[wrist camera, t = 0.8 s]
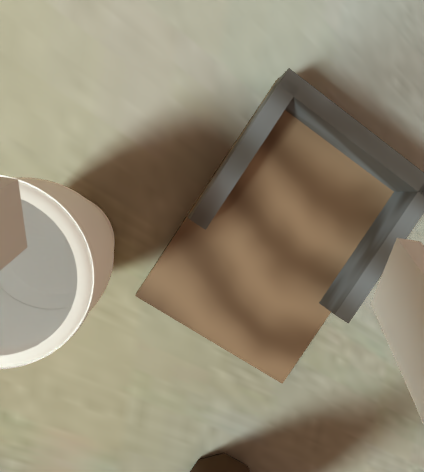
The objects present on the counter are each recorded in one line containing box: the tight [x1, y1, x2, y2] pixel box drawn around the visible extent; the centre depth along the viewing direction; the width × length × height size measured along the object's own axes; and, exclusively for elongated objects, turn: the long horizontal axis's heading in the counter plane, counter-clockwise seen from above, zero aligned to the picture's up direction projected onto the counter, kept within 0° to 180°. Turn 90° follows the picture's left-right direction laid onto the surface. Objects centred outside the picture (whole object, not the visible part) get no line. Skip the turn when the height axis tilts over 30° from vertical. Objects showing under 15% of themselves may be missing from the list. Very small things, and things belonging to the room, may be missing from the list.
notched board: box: [136, 68, 424, 383], centre depth 34 cm, size 24×17×4 cm
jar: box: [0, 175, 115, 369], centre depth 26 cm, size 11×10×15 cm
